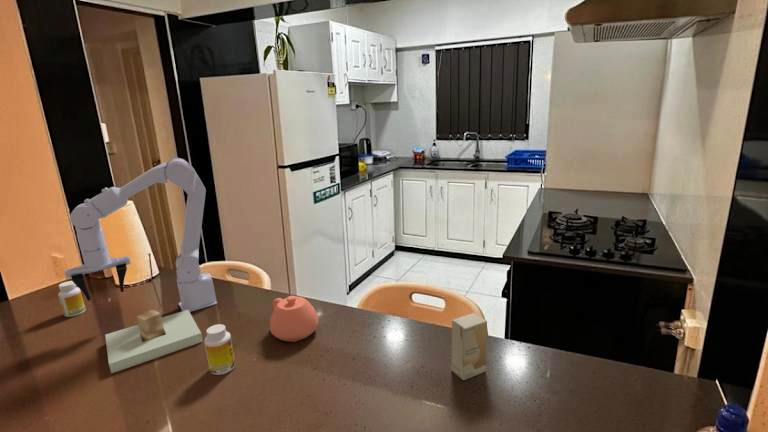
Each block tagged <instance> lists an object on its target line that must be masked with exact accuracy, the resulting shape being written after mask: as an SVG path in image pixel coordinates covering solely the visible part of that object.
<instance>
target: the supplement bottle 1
mask: <svg viewBox="0 0 768 432" xmlns="http://www.w3.org/2000/svg"><path fill="white" fill-rule="evenodd" d="M58 288H59V292H58V300H59V303H60V307H61V310H62V314H63V315H64V317H67V318H70V317H76V316H80V315H83V313H84V312H86V310H87V309H86V305H85V302H84V298H83V293H82V290H81V289H80V288H79V287H78V286H77V285H76V284H74V282H73V281H72V280H69V281H64V282H61V283H60V284H58Z"/></svg>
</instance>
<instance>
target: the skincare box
mask: <svg viewBox="0 0 768 432" xmlns="http://www.w3.org/2000/svg"><path fill="white" fill-rule="evenodd" d="M487 327H488V321H487V320H486V319H485V318H484V317H482V316H481V315H479V314H478V313H476V312H473V313H469V314H466V315H462V316H460V317H456V318H453V319H451V360H450V361H451V366H450V368H451V369H450V370H451V372H453V373H454V374H455V375H456V376H458V377H459V378H460V379H461V380H463V381H465V380H469V379H470V378H473V377H475V376H478V375H481V374H482V373H485V372H486V366H487V364H486V363H487V337H488V336H487V333H488V332H487V330H488V328H487Z"/></svg>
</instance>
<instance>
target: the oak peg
mask: <svg viewBox="0 0 768 432" xmlns="http://www.w3.org/2000/svg"><path fill="white" fill-rule="evenodd" d="M136 320H137V325H139V329H140V333H141V338H142V342H145V341H148V340H151V339H154V338H157V337H160V336H163V335H165V332H164V327H163V323H162V314H161V313H160V312H159V311H157V310H154V309H150V310H148V311H146V312H143V313H140V314H139V315H137V316H136Z"/></svg>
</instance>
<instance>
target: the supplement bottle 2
mask: <svg viewBox="0 0 768 432" xmlns="http://www.w3.org/2000/svg"><path fill="white" fill-rule="evenodd" d="M203 341H204V342H203V343H204V347H205V352H206V357H207V364H208V368H209V372H210V373H211V374H212V375H216V376H221V375H225V374H227V373H229V372H231V371H232V370H233V369H234V368H235V366H236V360H235V353H234V347H233V341H232V336H231V333H230V332H229V331H227V329H226V325H224V324H220V323H218V324H213V325H212V326H209V327H208V328H207V329H206V336H205V338H204V340H203Z"/></svg>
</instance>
